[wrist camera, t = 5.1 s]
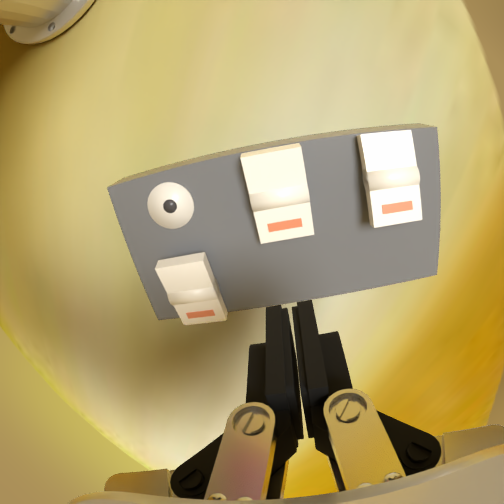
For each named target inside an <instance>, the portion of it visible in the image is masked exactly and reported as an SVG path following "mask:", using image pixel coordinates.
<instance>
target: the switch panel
mask: <svg viewBox="0 0 504 504" xmlns="http://www.w3.org/2000/svg"><path fill="white" fill-rule="evenodd" d="M403 130H411V133H412V138H413V144H414V150H415V157H416V164H417V167H418V169H419V173H420V184H419V187H420V197H421V208H422V220H418V221H412V222H406V223H400V224H394V225H388V226H382V227H377V228H374V227H372V226H371V225H370V221H369V212H368V204H367V197H366V190H365V187H364V183H363V170H362V164H361V158H360V152H359V146H358V141H357V136H358V135H362V134H371V133H380V132H391V131H403ZM296 143H299V144H300V146H301V149H302V155H303V161H304V167H305V173H306V179H307V185H308V190H309V196H310V206H311V213H312V220H313V228H314V235H310V236H304V237H298V238H292V239H286V240H281V241H275V242H269V243H263V244H261V242H260V238H259V234H258V230H257V225H256V221H255V217H254V213H253V210H252V207H251V203H250V197H249V192H248V188H247V184H246V180H245V175H244V171H243V167H242V163H241V159H240V157H241V154H242V153H247V152H252V151H257V150H262V149H267V148H273V147H278V146H284V145H290V144H296ZM107 189H108V192H109V195H110V198H111V201H112V204H113V207H114V210H115V213H116V216H117V219H118V221H119V224H120V227H121V230H122V233H123V235H124V238H125V241H126V243H127V246H128V249H129V251H130V254H131V256H132V259H133V262H134V264H135V267H136V269H137V272H138V274H139V277H140V279H141V281H142V284H143V286H144V289H145V291H146V293H147V296H148V298H149V300H150V302H151V305H152V307H153V309H154V312H155V314H156V316H157V318H158V320H164V319H173V318H180V317H179V315H178V313H177V311H176V309H175V307H174V306H173V305H171V304H170V302H169V300H168V296H167V292H166V290H165V288H164V286H163V284H162V282H161V280H160V278H159V276H158V274H157V272H156V270H155V267H156V265H157V262H158V260H162V259H168V258H174V257H179V256H185V255H190V254H196V253H202V252H205V254H206V256H207V259H208V262H209V264H210V267H211V270H212V272H213V275H214V278H216V280H217V282H218V285H219V291H220V293H221V296H222V298H223V301H224V304H225V306H226V309H227V311H228V312H231V311H239V310H246V309H253V308H260V307H267V306H273V305H280V304H286V303H293V302H299V301H305V300H311V299H317V298H323V297H328V296H334V295H340V294H345V293H351V292H356V291H361V290H366V289H372V288H377V287H382V286H387V285H392V284H396V283H401V282H406V281H411V280H415V279H420V278H424V277H429V276H433V275H437V268H438V255H439V239H440V208H441V192H440V161H439V145H438V133H437V127H434V126H429V125H424V124H404V125H391V126H379V127H369V128H360V129H351V130H343V131H335V132H328V133H320V134H314V135H307V136H301V137H295V138H289V139H283V140H277V141H272V142H266V143H261V144H256V145H251V146H246V147H241V148H236V149H232V150H227V151H223V152H218V153H214V154H209V155H205V156H201V157H197V158H193V159H189V160H185V161H181V162H177V163H173V164H170V165H166V166H162V167H159V168H155V169H152V170H148V171H145V172H141V173H138V174H134V175H131V176H128V177H125V178H122V179H121V180H119V181H117V182H116V183H114V184H112V185H110V186H109V187H107Z"/></svg>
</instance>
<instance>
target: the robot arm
mask: <svg viewBox="0 0 504 504" xmlns="http://www.w3.org/2000/svg"><path fill="white" fill-rule="evenodd" d="M93 2H94V0H0V24H3V26H4V28H5V31H6V33H7V34H8V36H9V37H10V38H11V39H12V40H14V41H15V42H19V43H22V44H37V43H42V42H45V41H48V40H50V39H52V38H54V37H56V36H57V35H59V34H61V33H62V32H64V31H65V30H66V29H68V28H69V27H70V26H72V25H73V24H74V23H75V22H76V21H77V20H78V19H79V18H80V17H81V16H82V15H83V14H84V13H85V12H86V11H87V9H88V8H89V7H90V6H91V5H92V3H93ZM292 314H293V323H294V332H295V342H296V351H297V359H296V353H295V347H294V342H293V336H292V331H291V325H290V320H289V314H288V309H287V308H283V309H282V307H281V305H277V306H270V307H266V343H261V344H253V345H250V347H249V361H248V377H247V393H246V404H243V405H240V406H239V407H237V408H236V409H234V411H233V412H232V413H231V414H230V416H229V418H228V420H227V424H226V427H225V430H224V433H223V434H222V435H220V436H219V437H218V438H217V439H215V440H214V441H213V442H211V443H210V444H209V445H207V446H206V447H205V448H203V449H202V450H201V451H199V452H198V453H197V454H195V455H194V456H193V457H191V458H190V459H189V460H187V461H186V462H184V463H183V464H182V465H180V466H179V467H178V468H177V469H176V470H171V471H169V470H168V469H161V470H152V471H143V472H130V473H119V474H115V475H113V476H111V477H110V478H109V479H108V481H107V482H106V484H105V488H104V491H103V492H94V493H89V494H85V495H82V496H78V497H76V498H75V499H73V500H71V501H70V502H69V503H68V504H504V427H503V426H501V425H489V426H484V427H478V428H473V429H467V430H461V431H455V432H448V433H443V435H442V436H435V437H434V436H432V435H431V434H429V433H426V432H424V431H421V430H419V429H417V428H414V427H412V426H410V425H408V424H405V423H403V422H401V421H398V420H396V419H394V418H392V417H390V416H387V415H385V414H383V413H381V412H379V411H377V410H376V409H375V407H374V405H373V403H372V401H371V399H370V398H369V396H368V395H367V394H365V393H364V392H362V391H360V390H357V389H353V388H352V384H351V379H350V375H349V371H348V367H347V363H346V359H345V355H344V352H343V348H342V344H341V340H340V336H339V333H338V331H336V332H331V333H325V334H318V329H317V324H316V319H315V314H314V309H313V304H312V300H307V301H301V302H297V306H295V307H292ZM297 361H298V366H297ZM298 371H299V377H298ZM299 382H300V387H299ZM300 390H301V397H302V403H303V409H304V414H305V420H306V426H307V432H308V438H313V437H314V439H315V447H316V449H317V450H318V451H320V452H322V453H323V454H325V455H327V459H328V463H329V466H330V469H331V472H332V476H333V479H334V482H335V486H336V489H337V492H336V493H329V494H323V495H315V496H307V497H298V498H287V499H283V495H284V489H285V483H286V477H287V471H288V464H289V461H288V459H289V458H290V457H291V456H292V455H294V454H295V453H296V452H297V449H296V448H297V447H298V439H304V435H303V423H302V410H301V399H300Z"/></svg>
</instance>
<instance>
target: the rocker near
mask: <svg viewBox="0 0 504 504" xmlns="http://www.w3.org/2000/svg"><path fill="white" fill-rule="evenodd" d="M357 141H358V146H359V152H360V158H361V164H362V170H363V183H364V187H365V190H366V197H367V204H368V212H369V221H370V225H371V226H372V227H374V228H377V227H382V226H388V225H394V224H400V223H406V222H412V221H418V220H422V208H421V197H420V187H419V184H420V173H419V169H418V167H417V164H416V157H415V150H414V144H413V138H412V133H411V130H403V131H391V132H380V133H371V134H362V135H358V136H357Z"/></svg>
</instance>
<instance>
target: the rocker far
mask: <svg viewBox="0 0 504 504" xmlns="http://www.w3.org/2000/svg"><path fill="white" fill-rule="evenodd" d="M155 270H156V272H157V274H158V276H159V278H160V280H161V282H162V284H163V286H164V288H165V290H166V292H167V296H168V300H169V302H170V304H171V305H173V306H174V307H175V309H176V311H177V313H178V315H179V317H180V319H181V321H182V322H183V324H184V325H192V324H202V323H210V322H219V321H227V312H228V311H227V309H226V306H225V304H224V301H223V298H222V296H221V293H220V291H219V285H218V282H217V280H216V278H214V275H213V272H212V270H211V267H210V264H209V262H208V259H207V256H206V254H205V252H202V253H196V254H190V255H185V256H179V257H174V258H168V259H162V260H158V262H157V265H156V267H155Z"/></svg>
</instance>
